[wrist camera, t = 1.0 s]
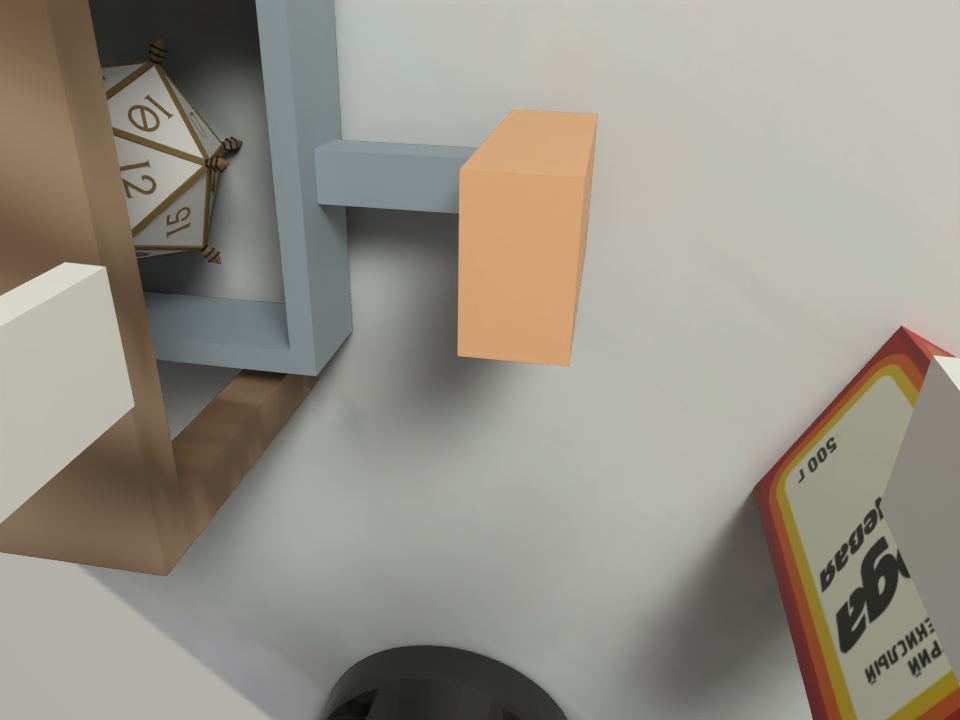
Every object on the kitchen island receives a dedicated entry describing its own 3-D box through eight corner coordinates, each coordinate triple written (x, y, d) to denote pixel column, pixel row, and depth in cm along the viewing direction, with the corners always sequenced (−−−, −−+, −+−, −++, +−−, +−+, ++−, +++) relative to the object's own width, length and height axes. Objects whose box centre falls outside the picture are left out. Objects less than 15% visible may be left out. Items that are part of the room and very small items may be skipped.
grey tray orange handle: (577, 351, 32) (556, 518, 22) (48, 302, 36) (-179, 426, 26) (612, -46, 26) (605, -67, 16) (-42, -59, 29) (-397, -83, 19)
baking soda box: (901, 325, 30) (1147, 626, 16) (1036, 403, 31) (1390, 762, 16) (753, 488, 35) (843, 836, 20) (873, 554, 35) (1042, 939, 21)
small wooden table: (318, 380, 36) (166, 576, 24) (106, 358, 37) (-137, 532, 25) (275, -150, 27) (-10, -260, 15) (-6, -150, 28) (-472, -250, 16)
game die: (187, 153, 36) (-53, 203, 30) (193, -19, 30) (-111, 3, 24) (287, 284, 33) (44, 368, 27) (317, 127, 27) (8, 192, 21)
